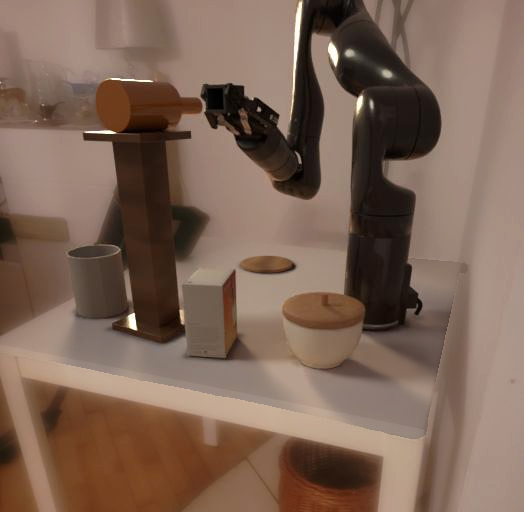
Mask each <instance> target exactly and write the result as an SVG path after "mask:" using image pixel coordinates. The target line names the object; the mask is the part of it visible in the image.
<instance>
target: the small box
mask: <svg viewBox="0 0 524 512" xmlns="http://www.w3.org/2000/svg"><path fill="white" fill-rule="evenodd" d="M181 294H182V307H183V310H184V321H185V330H184V332H185V344H186V354H187V356H189V357H203V358H205V357H206V358H216V359H217V358H219V359H226V358H227V355H228V354H229V351H230V349H231V348H232V346H233V344H234V343H235V340H236V339H237V337H238V310H237V309H238V307H237V270H236V268H225V267H207V266H206V267H205V266H204V267H203V266H199V267H197V268H196V270H195V271H194V272H193V273H192V274H191V276H189V277H188V278H187V280H185V281H184V282H183V283H181Z"/></svg>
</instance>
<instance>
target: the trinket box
mask: <svg viewBox="0 0 524 512" xmlns="http://www.w3.org/2000/svg"><path fill="white" fill-rule="evenodd" d="M281 306H282V307H281V308H282V309H281V310H282V311H281V312H282V326H283V335H284V338H285V342H286V344H287V347H288V348H289V350H290V352H291V353H292V354H293V356H295V357H296V358H297V359H298V361H299V362H300V364H302V365H304V366H306V367H309V368H312V369H319V370H328V369H333V368H337V367H339V366H340V365H342V364H343V362H344V361H345V360H347V359H348V358H350V357H351V355H352V354H353V353H354V352H355V350H356V349H357V347H358V345H359V343H360V340H361V336H362V332H363V329H362V328H363V320H364V317H365V306H364V305H363V304H362V303H361V302H360V301H359V300H357V299H355V298H353V297H350V296H346V295H344V293H343V294H342V293H336V292H328V291H312V292H311V291H310V292H305V293H299V294H295V295H292V296H290V297H288V298H287V299H286V300H285V301H284V302H283V303H282V305H281Z"/></svg>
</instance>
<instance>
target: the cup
mask: <svg viewBox="0 0 524 512" xmlns="http://www.w3.org/2000/svg"><path fill="white" fill-rule="evenodd" d="M65 254H66V260H67V265H68V270H69V276H70V281H71V286H72V292H73V297H74V303H75V308H76V312H77V314H78V315H79V316H81V317H82V318H88V319H102V318H104V319H105V318H109V317H114V316H118V315H120V314H122V313H124V312H126V311H127V309H128V308H129V301H128V295H127V286H126V280H125V272H124V271H125V270H124V264H123V257H122V249H121V248H120V247H119V246H116V245H112V244H89V245H83V246H78V247H75V248H71V249H69V250H68V251H67V252H66V253H65Z"/></svg>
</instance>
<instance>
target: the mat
mask: <svg viewBox="0 0 524 512" xmlns="http://www.w3.org/2000/svg"><path fill="white" fill-rule="evenodd" d="M241 268H243V269H244V270H246V271H249V272H253V273H261V274H271V273H272V274H273V273H282V272H286V271H289V270H290V269H292V268H293V261H292V260H291V259H289V258H287V257H284V256H283V257H282V256H279V255H256V256H251V257H247V258H245V259H243V260H242V261H241Z"/></svg>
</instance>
